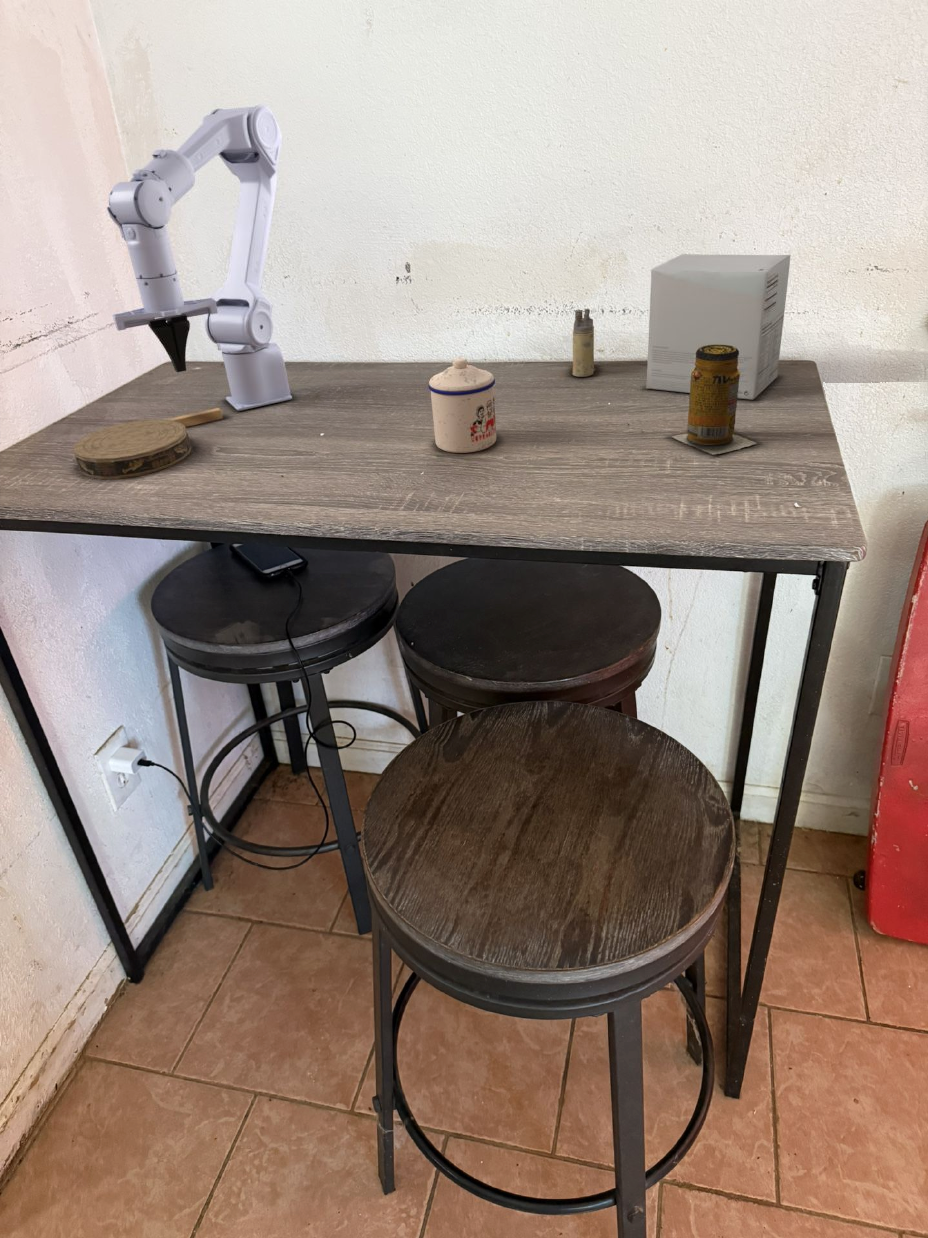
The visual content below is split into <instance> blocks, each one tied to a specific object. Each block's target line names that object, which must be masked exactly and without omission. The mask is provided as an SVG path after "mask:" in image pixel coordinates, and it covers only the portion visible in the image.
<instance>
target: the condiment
mask: <svg viewBox="0 0 928 1238" xmlns="http://www.w3.org/2000/svg"><path fill="white" fill-rule="evenodd" d="M738 355H739V351H738V349H737V348H736V347H733V346H730V345H720V344H716V345H715V344H714V345H706V346H702V347H700V348H699V349H698V350H697V351H696V361H695V366H696V367H695V368H694V370H693V371H692V374H691V382H690V393H689V396H688V397H689V399H688V400H689V401H688V412H687V425H686V426H687V427H686V433H681V434H676V435H673V436H671V438H673V439H674V440H677V441H679V442H682V443H683V444H685V445H688V446H690V447H695V448H696V449H697V450H700V451H703V452H705V453H708V454H710V455H713V456H714V455H720V454H725V453H730V452H733V451H736V450H738V451H739V450H741V449H743V448H746V447H751V446H753V445H757V442H755V441H753V440H750V439H748V438H746V437H742V435H741V436H740V435H738V434H735V424H736V414H737V407H738V406H737V405H738V399H739V398H738V388H739V378H740V373H739V370H738V369H737V366H738Z"/></svg>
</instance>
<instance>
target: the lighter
mask: <svg viewBox="0 0 928 1238" xmlns="http://www.w3.org/2000/svg"><path fill="white" fill-rule="evenodd" d="M590 314H591V310H590V309H589V308H588V307H587V308H586V309H584V313H583V310H582V309H577V310H575V311H574V323H573V329H572V376H575V377H578V378H579V377H580V378H582V377H591V376H593V375H594V372H596V370H597V369H596V368H595V351H594V350H595V325H594V319H593V318H591V317H590Z"/></svg>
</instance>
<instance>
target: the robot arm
mask: <svg viewBox="0 0 928 1238" xmlns="http://www.w3.org/2000/svg"><path fill="white" fill-rule="evenodd" d="M282 138H283V134H282V131H281V128H280V127H279V123H278V122H277V119H276V117H275V115H274V113H273V112H272V110H271V109H270V108H269V107H267V106H266V105H264V104H257V105H255V106H247V107H236V108H235V107H233V108H226V109H224V108H215V109H212V110H211V112H210V113H209V114H207V115H205V116H203V117H202V123H201V125H199V126H198V128H197V129H196V130H194V132H193V133H191V135H190V136H189V137H188V138H187V139H186V140H185V141H184V143H182V144H181V146H180V147H179V148H178V149H177V150H173V149H156V150H155V151H153V152H152V153H151V155H152V158H153V159H151V160H150V161H149V162H148V163H147V164H146V165H145V166H144V167H142V168H139V169H138V168H137V169H135V170H134V171H133V172H132V177H131V178H130V181H120V182H117V183H115V184H114V185H113V187H112V188H111V190H110V192H109V195H108V206H106V211H107V213H108V215H109V218H111V220H112V221H113V223H114V224H115V225H116V226H117V228H118V229H119V231H120V236H121V238H122V239H123V240H124V241H125V243H126V247H127V250H128V254H129V257H130V262H131V265H132V269H133V272H134V273H133V274H134V277H135V280H136V284H137V287H138V292H139V295H140V299H141V302H142V307H141V308H138V309H137V308H136V309H132V310H128V311H125V312H120V313H114V314H112V318H113V322H114V325H115V329H116V330H117V331H119V332H120V331H124V330H126V329H130V328H136V327H142V326H147V325H148V326H147V327H149V329H150V330H151V331H152V332H153V334H154V336H155V337H156V338H157V340H158V341H159V342H160V344H161V345H162V347H163V348H164V350H165V352H166V354H167V355H168V357H169V359H170V361H171V363H172V366H173V369H174V371H175V372H176V373H182V372H186V371H187V365H186V363H187V361H186V360H187V359H186V354H187V353H186V352H187V344H188V343H187V342H188V337H189V333H190V329H191V322H190V320H188V318H192V317H198V316H204V315H205V316H204V317H205V318H204V328H205V332H206V335H207V337H208V339H209V340H210V341H211V342H212V343H214V344H216V347H217V348H216V349H217V350H218V351H220V352H221V355H222V360H223V363H224V368H225V374H226V378H227V382H228V386H229V391H230V396H226V397H225V400H226V401H227V403H228V404H230V405H231V406H232V407H233V408H234V409H235V410H236V411H239V412H240V411H245V410H249V409H253V408H259V407H262V406H267V405H272V404H276V403H280V402H285V401H289V400H292V399H293V396H292V395H291V391H290V386H289V385H290V384H289V380H288V374H287V369H286V364H285V359H284V355H283V353H282V350H281V348H280V346H279V344H278V343H276V342H271V343H270V341H271V339H272V337H273V332H274V326H273V319H272V316H273V315H272V313H273V312H272V311H273V303H272V302H271V301H270V299H269V298H267V296H266V295H265V294H264V293H263V292H262V284H263V279H264V278H263V277H264V272H265V264H266V260H267V259H266V258H267V251H268V246H269V238H270V233H271V226H272V218H273V213H274V205H275V200H276V192H277V185H278V166H279V159H280V153H281V147H282V140H283V139H282ZM217 156H219V159H221V160H222V162H223V163H224V165H225V166H226V167H227V168H228V170H229V171H230V173H231V174H232V175H233V176H235V177H237V178H238V180H239V183H240V188H239V193H238V194H239V195H238V200H237V207H236V214H235V221H234V227H233V234H232V240H231V241H232V242H231V248H230V255H229V261H228V269H227V276H226V281H225V283H224V284H223V285H222V286H221V287H220V288H219V289H217V290H216V291H215V292H214V293H213V295H212V297H209V298H203V299H202V298H200V299H191V300H184V296H183V293H182V288H181V284H180V280H179V276H178V271H177V268H176V263H175V259H174V255H173V251H172V246H171V243H170V238H169V234H168V230H167V225H168V223H169V222H170V219H171V216H172V209H173V207H174V206H175V205H176V204H177V203H178V201H180V200H181V199H182V198H183V197H184V196H185V195H186V194H187V193H188V192H189V191H190V190H192V188H193V187H194V185H195V182H196V177H195V173H197V171H200V169H201V168H203V167H204V166H205V165H206V164H208V163H210V161H211V160H213V159H215V157H217Z"/></svg>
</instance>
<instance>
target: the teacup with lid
mask: <svg viewBox="0 0 928 1238" xmlns="http://www.w3.org/2000/svg"><path fill="white" fill-rule="evenodd" d="M468 363H469V362H468V360H467V358H465V357H458V358H457V357H456V358H454V359H453V361H452V365H451V366H449V367H447V368H446V369H444V371H441V372H439V373H437V374H435V375H432V377H431V378H430V379H429V382H428V386H427V387H428V389H429V391H430V399H431V400H430V401H431V409H432V421H433V429H434V439H435V440H434V442H435V445H436V447H437V448H438V449H440V450H442V451H445V452H448V453H453V454H457V453H458V454H467V453H475V452H480V451H482V450H485V449H488V448H490V447H492V446H493V445H494V444H495V443H496V441H497V422H496V421H497V420H496V407H495V406H496V405H495V404H496V403H495V384H496V379H495V377H494V375H493V373H491V372H490V371H488V370H485V369H481V368H477V367H476V366H474V365H470V364H468Z"/></svg>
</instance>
